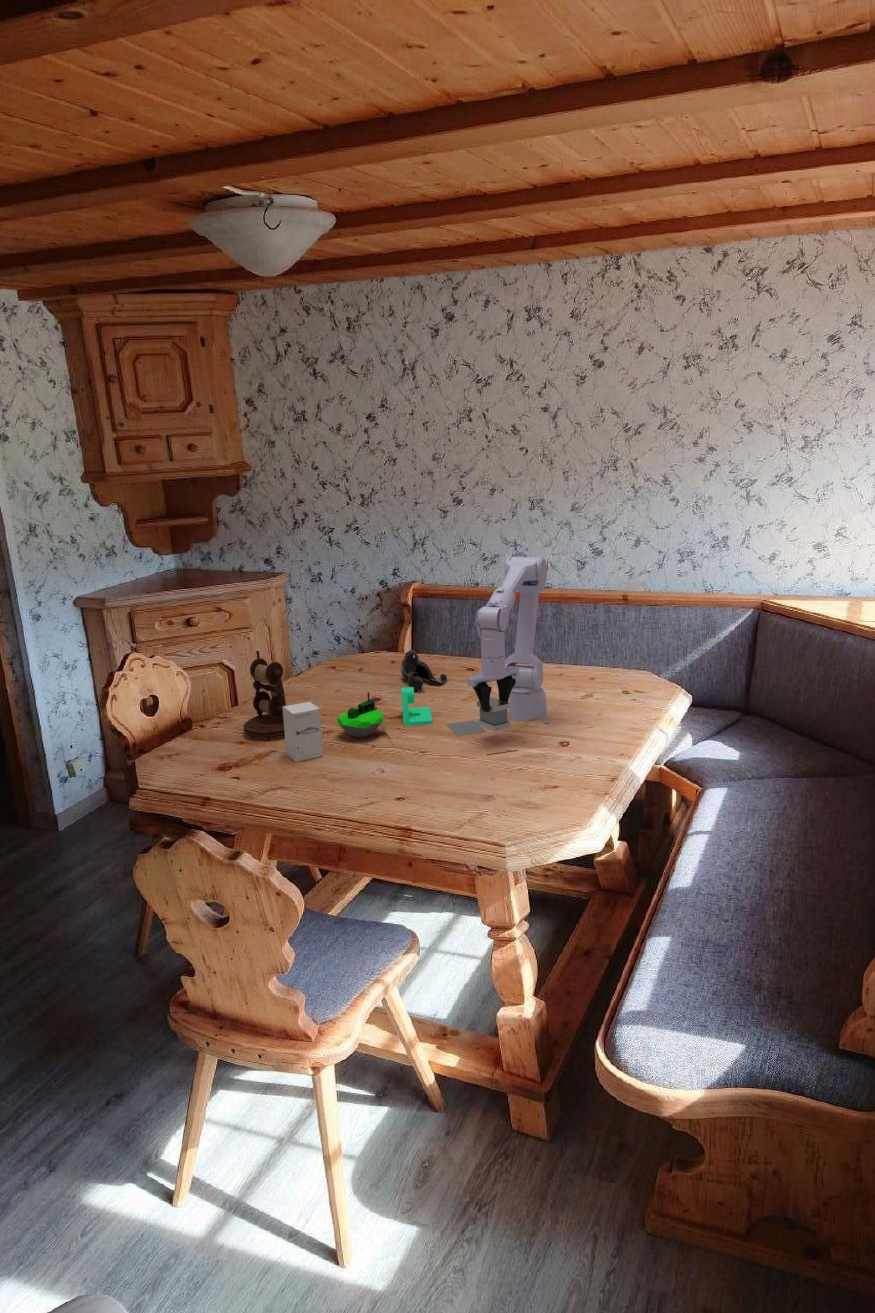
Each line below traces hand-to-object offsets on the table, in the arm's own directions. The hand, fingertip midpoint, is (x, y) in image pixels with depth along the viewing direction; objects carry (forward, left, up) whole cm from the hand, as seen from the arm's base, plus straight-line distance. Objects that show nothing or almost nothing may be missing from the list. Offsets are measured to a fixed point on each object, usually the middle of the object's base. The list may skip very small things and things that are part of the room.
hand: (494, 708), depth 227 cm
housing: (0, 0, -4) cm, 4 cm away
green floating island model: (+30, -21, -10) cm, 38 cm away
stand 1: (+4, -12, -10) cm, 16 cm away
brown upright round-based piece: (+52, -33, -10) cm, 62 cm away
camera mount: (+14, -25, -10) cm, 30 cm away
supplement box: (+46, -12, -10) cm, 49 cm away
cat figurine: (+2, -60, -10) cm, 61 cm away
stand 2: (0, 0, -10) cm, 10 cm away
